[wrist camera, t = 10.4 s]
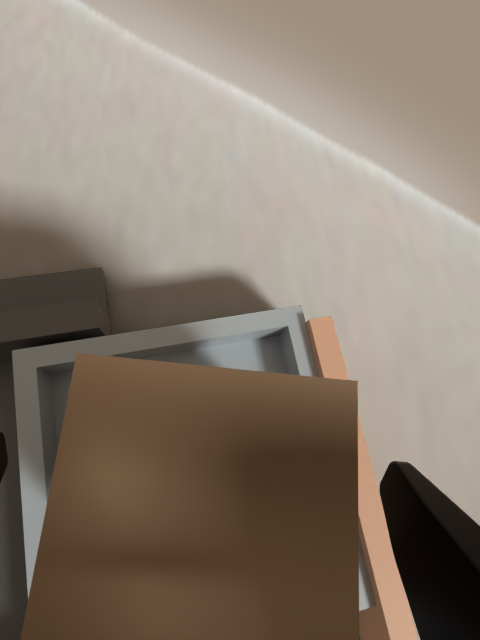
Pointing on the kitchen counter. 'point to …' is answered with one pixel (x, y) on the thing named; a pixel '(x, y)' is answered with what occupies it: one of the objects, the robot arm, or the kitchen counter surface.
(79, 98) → the kitchen counter surface
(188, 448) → the walnut block
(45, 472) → the tray
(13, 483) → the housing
